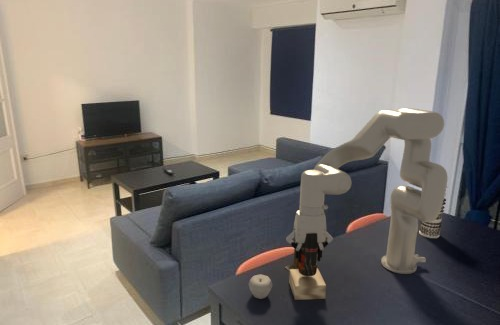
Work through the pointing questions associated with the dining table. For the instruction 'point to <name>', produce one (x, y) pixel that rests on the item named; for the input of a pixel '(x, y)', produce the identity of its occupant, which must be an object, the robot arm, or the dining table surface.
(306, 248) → the deodorant
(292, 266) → the condiment
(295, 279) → the block
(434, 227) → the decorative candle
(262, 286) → the apple
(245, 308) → the dining table surface
